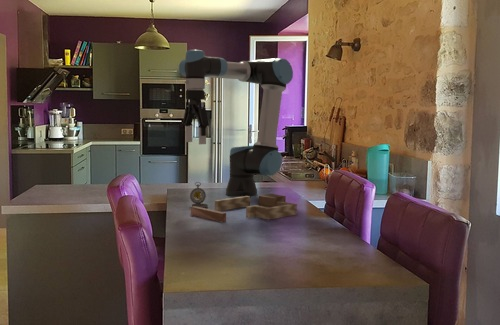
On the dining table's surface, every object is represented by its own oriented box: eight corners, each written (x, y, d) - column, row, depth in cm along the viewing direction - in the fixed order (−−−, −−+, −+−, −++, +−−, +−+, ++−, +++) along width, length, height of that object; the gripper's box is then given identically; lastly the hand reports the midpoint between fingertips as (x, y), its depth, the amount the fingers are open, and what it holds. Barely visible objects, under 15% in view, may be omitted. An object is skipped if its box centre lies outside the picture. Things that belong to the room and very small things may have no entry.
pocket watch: (200, 209, 218) (200, 184, 217) (185, 206, 223) (185, 182, 222) (213, 206, 225) (213, 182, 224) (198, 204, 230) (198, 181, 229)
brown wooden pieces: (248, 204, 230) (248, 195, 230) (296, 214, 211) (296, 204, 211) (189, 214, 208) (189, 203, 208) (237, 225, 189) (237, 214, 188)
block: (271, 205, 232) (271, 193, 231) (285, 207, 226) (285, 196, 226) (258, 207, 226) (258, 195, 226) (272, 210, 220) (272, 198, 220)
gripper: (174, 90, 224) (175, 141, 226) (199, 88, 202) (199, 145, 204) (191, 90, 227) (191, 140, 229) (217, 89, 206) (217, 144, 208)
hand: (195, 143), depth 217 cm, fingers open, 13 cm apart
